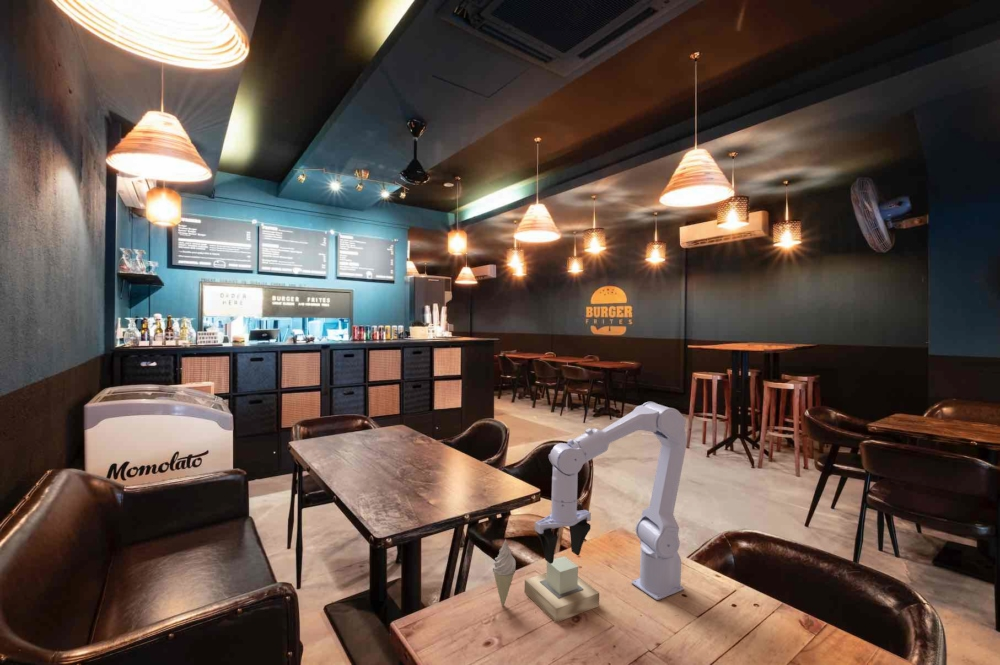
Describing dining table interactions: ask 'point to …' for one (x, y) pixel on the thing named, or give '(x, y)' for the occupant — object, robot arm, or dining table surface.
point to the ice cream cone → (504, 571)
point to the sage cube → (562, 575)
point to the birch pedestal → (561, 598)
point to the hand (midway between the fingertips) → (562, 557)
